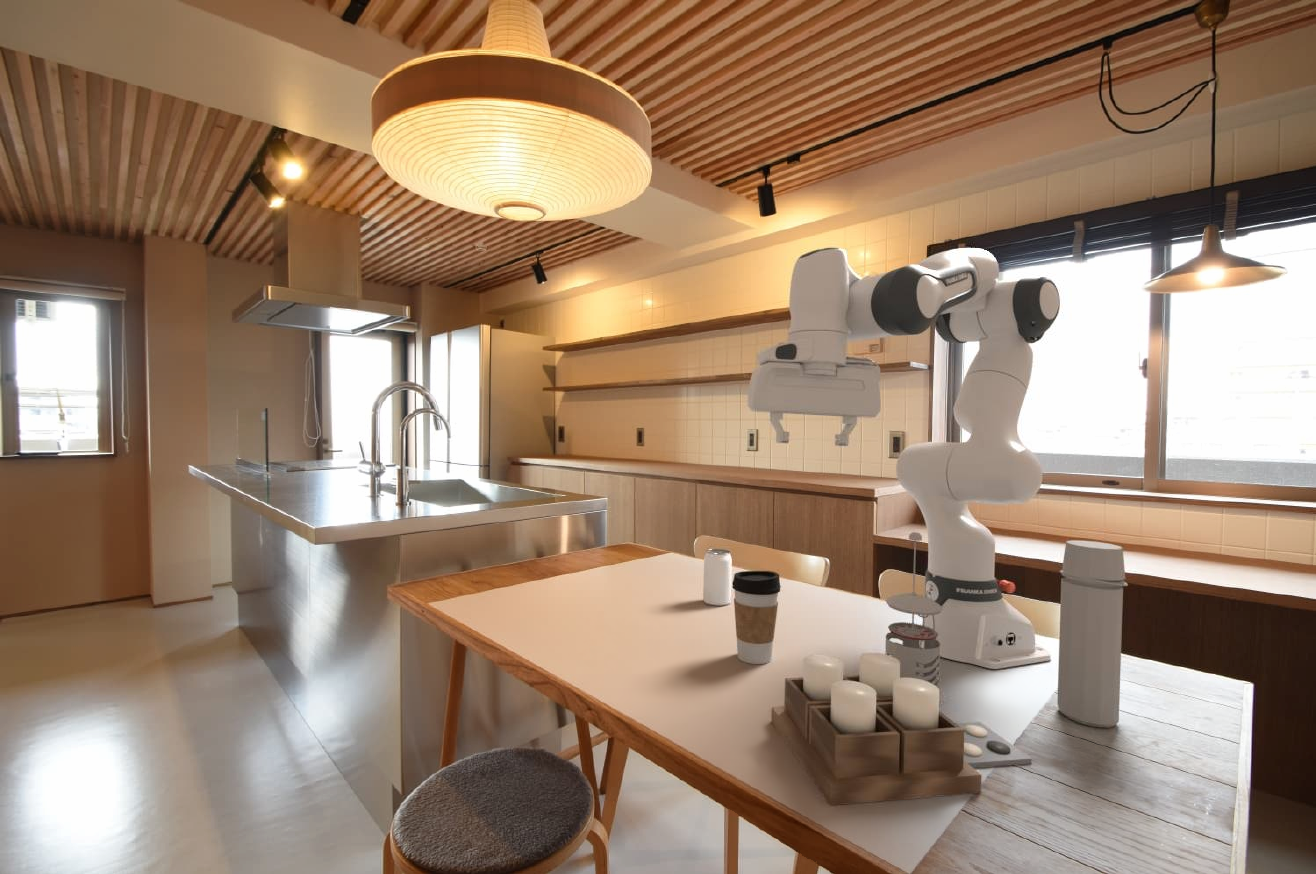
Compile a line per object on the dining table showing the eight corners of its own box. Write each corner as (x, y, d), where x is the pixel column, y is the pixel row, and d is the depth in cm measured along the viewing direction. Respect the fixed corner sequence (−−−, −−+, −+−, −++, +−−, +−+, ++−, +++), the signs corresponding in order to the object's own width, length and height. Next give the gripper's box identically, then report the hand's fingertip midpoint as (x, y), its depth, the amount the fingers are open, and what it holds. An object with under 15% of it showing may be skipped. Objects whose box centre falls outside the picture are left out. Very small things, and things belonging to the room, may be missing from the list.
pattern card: (979, 726, 80) (979, 719, 80) (1031, 763, 71) (1031, 756, 71) (920, 729, 78) (920, 723, 78) (965, 768, 69) (965, 760, 69)
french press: (866, 690, 90) (870, 531, 90) (897, 670, 98) (901, 524, 98) (931, 713, 83) (936, 540, 83) (959, 689, 91) (964, 532, 91)
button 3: (885, 688, 80) (886, 652, 80) (907, 705, 75) (908, 666, 75) (852, 689, 79) (853, 653, 79) (871, 707, 74) (872, 668, 74)
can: (698, 599, 137) (700, 549, 137) (723, 597, 139) (725, 548, 139) (709, 607, 131) (710, 554, 131) (735, 605, 133) (736, 553, 133)
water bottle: (1095, 734, 78) (1101, 551, 78) (1042, 707, 86) (1047, 540, 85) (1144, 726, 81) (1150, 548, 80) (1088, 701, 88) (1093, 538, 88)
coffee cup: (778, 669, 97) (781, 581, 97) (728, 664, 99) (730, 577, 99) (778, 651, 105) (780, 569, 105) (732, 646, 107) (734, 566, 107)
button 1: (831, 690, 78) (832, 654, 78) (849, 708, 73) (850, 669, 73) (796, 692, 78) (797, 655, 77) (812, 710, 73) (813, 671, 73)
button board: (891, 714, 83) (892, 669, 82) (981, 792, 65) (982, 735, 65) (771, 721, 80) (772, 674, 80) (830, 805, 62) (832, 745, 62)
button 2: (861, 720, 70) (862, 679, 70) (883, 742, 66) (885, 698, 65) (822, 722, 70) (824, 681, 70) (842, 745, 65) (843, 700, 65)
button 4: (921, 716, 72) (922, 676, 72) (947, 737, 67) (948, 695, 67) (884, 718, 71) (885, 678, 71) (907, 740, 66) (909, 697, 66)
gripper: (870, 361, 93) (866, 447, 93) (747, 353, 91) (742, 441, 91) (890, 356, 87) (886, 448, 86) (758, 347, 84) (753, 441, 84)
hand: (812, 444), depth 88 cm, fingers open, 8 cm apart
